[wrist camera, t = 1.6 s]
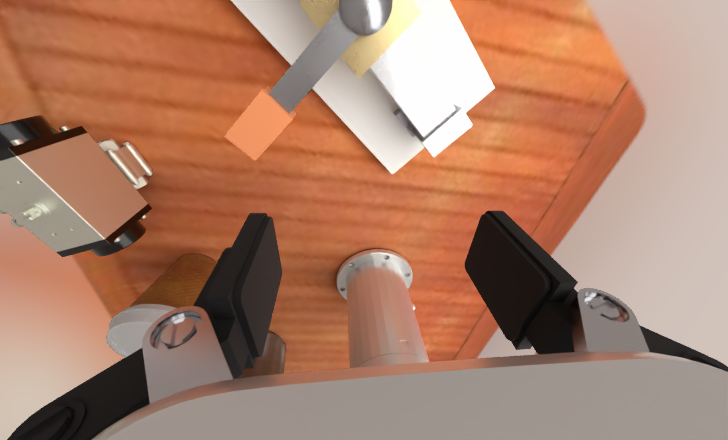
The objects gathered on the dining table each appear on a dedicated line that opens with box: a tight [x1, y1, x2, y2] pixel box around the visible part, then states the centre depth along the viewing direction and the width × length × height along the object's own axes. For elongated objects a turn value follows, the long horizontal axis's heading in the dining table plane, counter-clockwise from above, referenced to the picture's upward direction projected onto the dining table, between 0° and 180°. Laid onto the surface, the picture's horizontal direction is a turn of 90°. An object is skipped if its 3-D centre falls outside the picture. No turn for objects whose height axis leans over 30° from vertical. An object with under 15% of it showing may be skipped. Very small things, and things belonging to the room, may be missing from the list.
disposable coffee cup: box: [106, 254, 217, 358], centre depth 34 cm, size 10×10×12 cm
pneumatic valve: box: [0, 116, 153, 257], centre depth 24 cm, size 6×12×12 cm, turn 14°
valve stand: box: [231, 0, 495, 175], centre depth 20 cm, size 28×14×8 cm, turn 42°
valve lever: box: [224, 0, 393, 161], centre depth 18 cm, size 14×3×2 cm, turn 132°
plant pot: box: [237, 332, 286, 379], centre depth 44 cm, size 16×16×16 cm
